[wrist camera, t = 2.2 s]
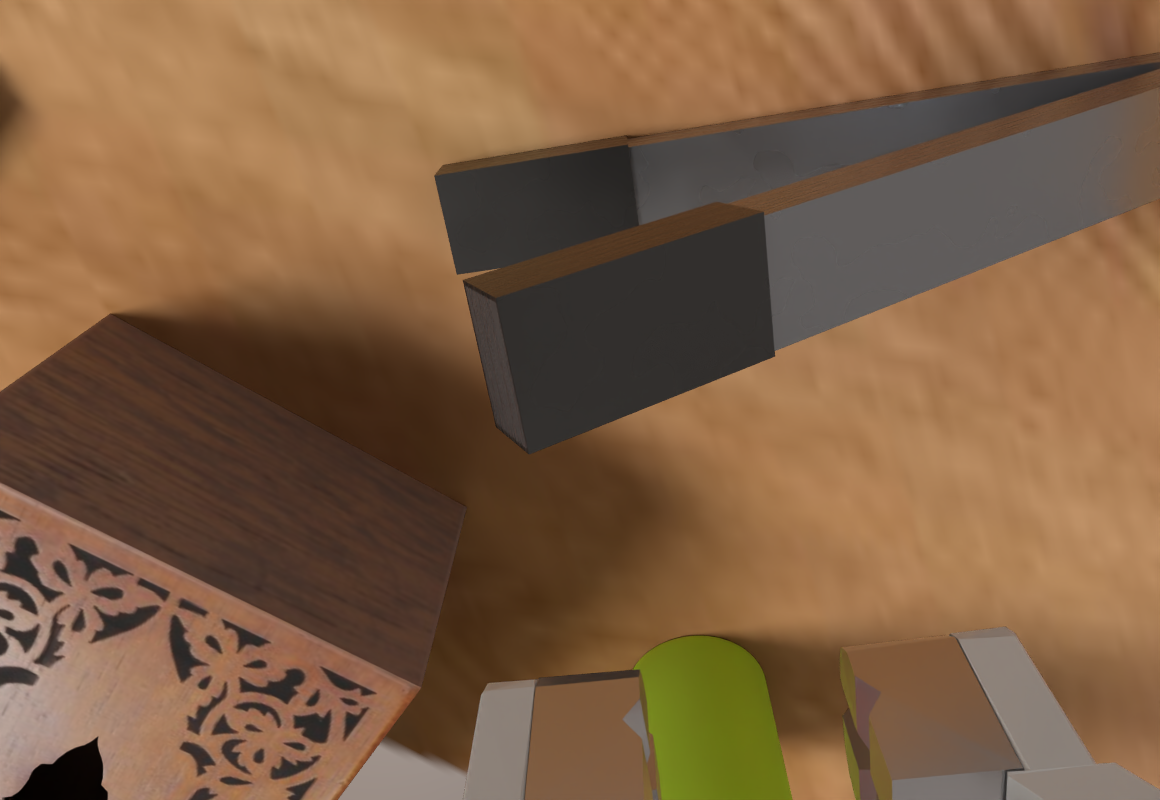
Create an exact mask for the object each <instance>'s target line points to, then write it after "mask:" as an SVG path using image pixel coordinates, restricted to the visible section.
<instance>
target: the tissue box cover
mask: <svg viewBox="0 0 1160 800" xmlns="http://www.w3.org/2000/svg"><path fill="white" fill-rule="evenodd" d="M466 509H467V507H465V506H463V505H462V504H460V503H458V502H456V501H454V500H452V499H451V498H449V497H447V496H445V495H443V494H441V493H439V492H438V491H436V490H434V489H432V488H430V487H428V486H427V485H425V484H423V483H421V482H419V481H417V480H415V479H414V478H412V477H410V476H408V475H406V474H404V473H403V472H401V471H399V470H397V469H395V468H393V467H392V466H390V465H388V464H386V463H384V462H382V461H380V460H379V459H377V458H375V457H373V456H371V455H369V454H368V453H366V452H364V451H362V450H360V449H358V448H356V447H355V446H353V445H351V444H349V443H347V442H345V441H344V440H342V439H340V438H338V437H336V436H334V435H333V434H331V433H329V432H327V431H325V430H323V429H321V428H320V427H318V426H316V425H314V424H312V423H310V422H309V421H307V420H305V419H303V418H301V417H299V416H297V415H296V414H294V413H292V412H290V411H288V410H286V409H285V408H283V407H281V406H279V405H277V404H275V403H273V402H272V401H270V400H268V399H266V398H264V397H262V396H261V395H259V394H257V393H255V392H253V391H251V390H250V389H248V388H246V387H244V386H242V385H240V384H238V383H237V382H235V381H233V380H231V379H229V378H227V377H226V376H224V375H222V374H220V373H218V372H216V371H215V370H213V369H211V368H209V367H207V366H205V365H203V364H202V363H200V362H198V361H196V360H194V359H192V358H191V357H189V356H187V355H185V354H183V353H181V352H180V351H178V350H176V349H174V348H172V347H170V346H169V345H167V344H165V343H163V342H161V341H159V340H157V339H156V338H154V337H152V336H150V335H148V334H146V333H145V332H143V331H141V330H139V329H137V328H135V327H134V326H132V325H130V324H128V323H126V322H124V321H122V320H121V319H119V318H117V317H115V316H113V315H112V314H109V315H108V316H106V317H105V318H103V319H102V320H101V321H99V322H98V323H96V324H95V325H94V326H92V327H91V328H89V329H88V330H87V331H85V332H84V333H82V334H81V335H79V336H78V337H77V338H75V339H74V340H72V341H71V342H70V343H68V344H67V345H65V346H64V347H63V348H61V349H60V350H58V351H57V352H56V353H54V354H53V355H51V356H50V357H48V358H47V359H46V360H44V361H43V362H41V363H40V364H39V365H37V366H36V367H34V368H33V369H32V370H30V371H29V372H27V373H26V374H25V375H23V376H22V377H20V378H19V379H17V380H16V381H15V382H13V383H12V384H10V385H9V386H8V387H6V388H5V389H3V390H2V391H1V392H0V800H338V799H339V797H340V796H341V795H342V793H343V792H344V791H345V789H346V788H347V787H348V785H349V784H350V783H351V781H352V780H353V779H354V777H355V776H356V775H357V773H358V772H359V770H360V769H361V768H362V767H363V765H364V764H365V763H366V761H367V760H368V758H369V757H370V756H371V754H372V753H373V752H374V750H375V749H376V748H377V746H378V745H379V744H380V742H381V741H382V740H383V738H384V737H385V736H386V734H387V733H388V732H389V730H390V729H391V728H392V726H393V725H394V724H395V722H396V721H397V720H398V718H399V717H400V716H401V714H402V713H403V712H404V710H405V709H406V708H407V706H408V705H409V704H410V702H411V701H412V700H413V698H414V697H415V696H416V694H417V693H418V692H419V690H420V689H421V687H422V683H423V679H424V675H425V671H426V667H427V663H428V659H429V655H430V651H431V647H432V643H433V639H434V635H435V631H436V628H437V624H438V620H439V616H440V612H441V608H442V604H443V600H444V596H445V592H446V588H447V584H448V580H449V576H450V572H451V568H452V564H453V560H454V556H455V552H456V548H457V544H458V540H459V536H460V532H461V528H462V524H463V520H464V517H465V513H466Z"/></svg>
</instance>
